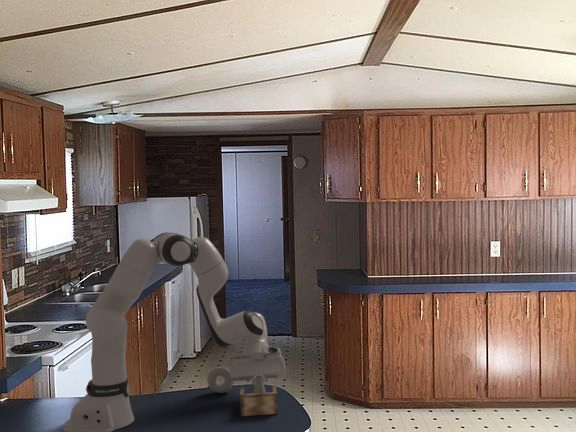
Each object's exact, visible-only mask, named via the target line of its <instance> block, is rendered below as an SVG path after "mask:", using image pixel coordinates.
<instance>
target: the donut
mask: <svg viewBox="0 0 576 432" xmlns="http://www.w3.org/2000/svg"><path fill="white" fill-rule="evenodd" d="M220 376H221V377H223V379H224V382H223V383H219V382H218V380H217V377H220ZM206 381H207V385H208V387H209V388H210V390H211V391H213V392H214V393H219V394H224V393H227V392H228V391H230V390H231V388H233V386H234V382H235V381H232V380H231V379H230V368H227V367H225V366H220V365H219V366H215V367H213V368H211V370H210V371H209V372H208V375H207V378H206Z"/></svg>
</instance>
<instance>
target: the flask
mask: <svg viewBox="0 0 576 432" xmlns="http://www.w3.org/2000/svg"><path fill="white" fill-rule="evenodd" d="M253 393H267V390H266V388H265V384H264V385H263V375H256V376H255V386H254V389H253V392H252V394H253Z"/></svg>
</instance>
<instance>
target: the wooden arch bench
mask: <svg viewBox="0 0 576 432" xmlns="http://www.w3.org/2000/svg"><path fill="white" fill-rule="evenodd" d="M239 393H240V394H239V403H240V404H239V405H240V417H247V416H249V417H250V416H263V415H277V414H279V405H278V404H279V403H278V391H277V385H275V384H274V385H272V392H266V393H253V392H252V393H245V387H243V386H242V387H240V391H239Z"/></svg>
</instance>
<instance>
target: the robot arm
mask: <svg viewBox="0 0 576 432" xmlns="http://www.w3.org/2000/svg"><path fill="white" fill-rule="evenodd" d="M160 263H163V264H165V265H169V266H172V267H173V266H174V267H182V266H186V265H190V268H191V269H192V270H193V272H194V275H195V276H196V278H197V281H198V285H197V287H196V290H195V291H196V296H197V299H198V302H199V304H200V307H201V310H202V312H203V314H204V318H205V320H206V323H207V326H208V329H209V333H210V337H211V340H212V342H213V343H214V344H215V345H216V346H219V347H220V348H223V349H225V348H229V347H230V346H231V345H234V344H236V343H238V342H241V341H243V340H244V342H245V344H244V355H234V356H232V357H231V358H229V360H228V367H229V370H230V379H231V380H232V381H234V382H240V381H241V382H242V381H243V382H245V381H251V384H252V385H253V386H254V387H255V376H256V375H263V385H264V386H265V384H266V382H267V381H266V380H267V379H268V380H270V379H282V378H285V377H286V375H287V367H286V362H285V359H284V357H283V356H282V351H281V348H279V347H276V346H270V345H269V343H268V327H267V323H266V320H265V317H264V316H263V314H261V313H259V312H254V311H251V310H243V311H241V312H238V313H236V314H235V313H234V314H233V315H231V316H229V317H226V318H222V317H221V316H220V314H219V312H218V309H217V306H216V304H215V301H214V296H215V295H216V294H217V293H218V292H219V291H220V290H221V289H222V288H223V287H224V285H225V284H226V283H227V281H228V279H229V268H228V266H227V264H226V261H225V260H224V258H223V257H222V255H221V253H220V252H219V250H218V249H217V248H216V246H215V245H214V244H213V243H212V241H211V240H209V238H207V237H205V236H198V237H195V238H193V239H190V238H189V237H187V236H185V235H182V234H180V233H178V232H167V231H166V232H162V233H160V234H158V235H157V236H155V237H154V238H152V239H151V240H150V239H146V238H145V239H144V238H139V239H135V241H133V242H132V244H131V245H130V246H129V247H128V249H127V250H126V251H125V253H124V254H123V255H122V257H121V259H120V261H119V263H118V265H117V266H116V268H115V270H114V272H113V274H112V276H111V277H110V279H109V281H108V283H107V284H106V286H105V287H104V289H103V290H102V292H101V293H100V294H99V296H98V297H97V299H96V300H95V302H94V303H93V304H92V306H91V308H89V310H87V313H86V317H85V325H86V327H87V329H88V331H89V332H90V334H91V338H92V339H91V340H92V342H91V345H92V346H91V356H90V357H91V358H90V365H91V379H89V381H88V383H87V384H86V388H85V392H86V395H84V396H83V397H82V398H81V399H79V400H78V401H77V402H76V404H74V405H73V407H72V409H71V412H70V416H69V417H70V418H69V419H67V421H65V423H64V425H63V428H62V430H63V432H113V431H115V430H118V429H122V428H124V427H127V426H129V425H131V424H132V423H133V422H134V421H135V420H136V419H135V415H134V414H133V410H132V406H131V402H130V397H129V395H130V382H129V378H128V376H127V360H126V359H127V358H126V353H127V341H128V330H129V329H128V328H129V327H128V321H127V318H126V317H125V315H126V314H127V313H128V311H129V310H130V308H131V307H132V306H133V304H134V303H135V302H136V301H137V300H138V299H139V297H140V296H141V294H142V292H143V290H144V288H145V287H146V284H147V282H148V281H149V278H150V277H151V274H153V270H154V269H155V268H156V266H158V265H159V264H160Z"/></svg>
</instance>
